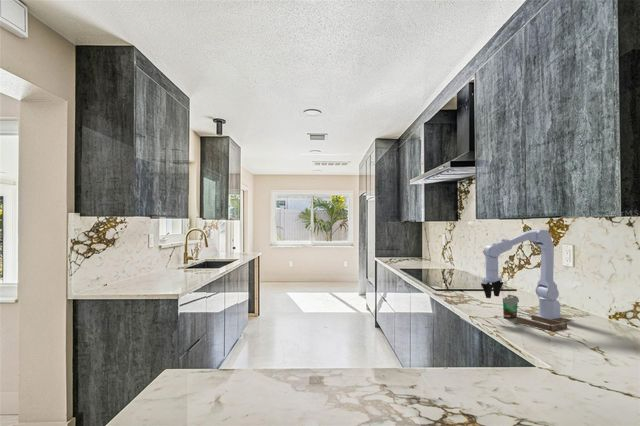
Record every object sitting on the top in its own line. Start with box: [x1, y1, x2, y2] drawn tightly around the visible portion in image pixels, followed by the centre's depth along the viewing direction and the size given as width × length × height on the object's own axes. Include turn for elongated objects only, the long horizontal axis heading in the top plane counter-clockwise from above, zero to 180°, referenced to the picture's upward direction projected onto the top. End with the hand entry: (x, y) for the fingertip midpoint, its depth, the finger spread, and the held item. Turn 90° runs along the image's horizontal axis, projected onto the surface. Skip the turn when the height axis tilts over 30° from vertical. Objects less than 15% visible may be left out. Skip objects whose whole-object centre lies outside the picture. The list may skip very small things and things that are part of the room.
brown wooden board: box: [516, 314, 568, 331], centre depth 176 cm, size 11×17×2 cm, turn 23°
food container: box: [502, 294, 520, 320], centre depth 190 cm, size 12×6×10 cm, turn 143°
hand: (492, 297), depth 189 cm, fingers open, 7 cm apart
